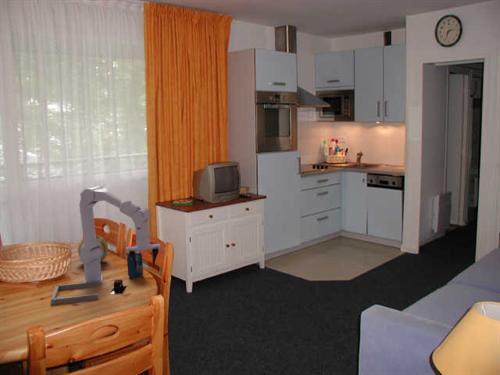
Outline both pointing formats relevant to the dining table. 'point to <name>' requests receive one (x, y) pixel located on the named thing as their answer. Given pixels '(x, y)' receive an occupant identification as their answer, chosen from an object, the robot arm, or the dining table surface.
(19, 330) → the dining table surface
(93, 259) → the robot arm
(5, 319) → the dining table surface
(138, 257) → the soda can
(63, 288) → the truck bay
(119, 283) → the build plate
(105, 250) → the cantaloupe
